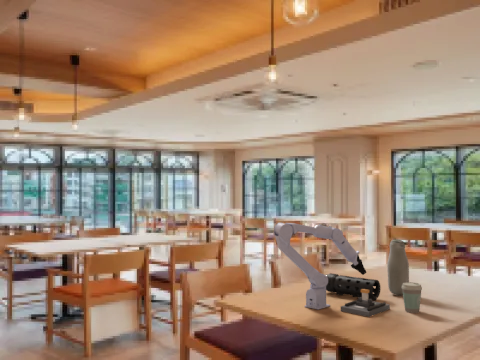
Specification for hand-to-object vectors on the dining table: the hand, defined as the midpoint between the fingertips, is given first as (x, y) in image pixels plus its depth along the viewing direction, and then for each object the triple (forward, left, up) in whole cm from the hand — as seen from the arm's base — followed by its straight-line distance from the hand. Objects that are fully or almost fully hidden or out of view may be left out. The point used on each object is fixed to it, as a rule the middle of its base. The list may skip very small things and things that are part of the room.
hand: (363, 270), depth 217 cm
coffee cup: (+1, -23, -16) cm, 28 cm away
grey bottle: (+26, -4, -16) cm, 31 cm away
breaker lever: (-11, -7, -11) cm, 17 cm away
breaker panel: (-11, -7, -15) cm, 20 cm away
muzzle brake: (+7, +12, -16) cm, 21 cm away
